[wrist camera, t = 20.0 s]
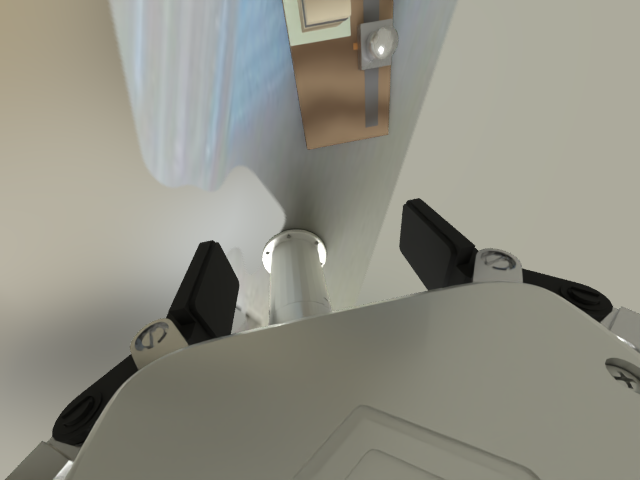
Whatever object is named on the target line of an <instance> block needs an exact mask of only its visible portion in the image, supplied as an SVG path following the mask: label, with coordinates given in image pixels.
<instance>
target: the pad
mask: <svg viewBox="0 0 640 480" xmlns="http://www.w3.org/2000/svg"><path fill="white" fill-rule="evenodd" d="M283 4H284V10H285V16H286V22H287V28H288V34H289V40H290V46H295V45H301V44H306V43H312V42H318V41H324V40H330V39H335V38H341V37H347V36H351V29H350V16H349V17H348V19H347V20H346V21H343V22H342V23H341V24H340V25H338V26H337V27H331V28H326V29H320V30H315V31H309V32H304V33H302V29H301V22H300V15H299V9H298V2H297V0H283Z"/></svg>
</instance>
